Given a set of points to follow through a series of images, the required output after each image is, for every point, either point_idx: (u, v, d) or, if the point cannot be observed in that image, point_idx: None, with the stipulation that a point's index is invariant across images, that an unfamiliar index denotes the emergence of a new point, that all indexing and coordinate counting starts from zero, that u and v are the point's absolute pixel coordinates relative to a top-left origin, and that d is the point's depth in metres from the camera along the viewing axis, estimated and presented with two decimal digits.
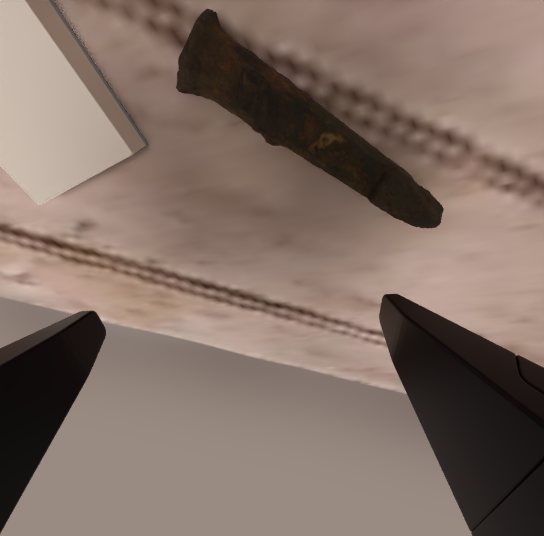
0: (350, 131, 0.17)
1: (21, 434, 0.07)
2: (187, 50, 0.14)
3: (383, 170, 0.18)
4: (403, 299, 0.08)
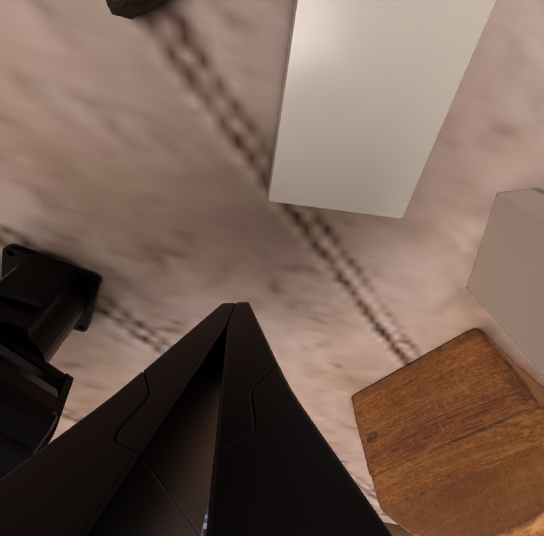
0: None
1: (211, 426, 0.07)
2: None
3: None
4: (245, 307, 0.09)
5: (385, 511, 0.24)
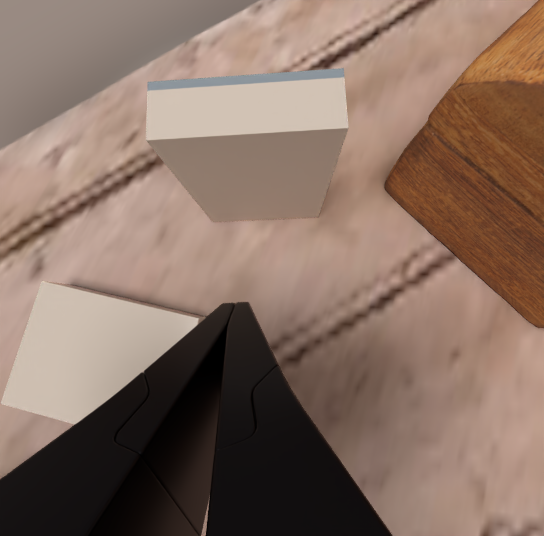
0: None
1: (211, 427, 0.07)
2: None
3: None
4: (245, 307, 0.09)
5: None
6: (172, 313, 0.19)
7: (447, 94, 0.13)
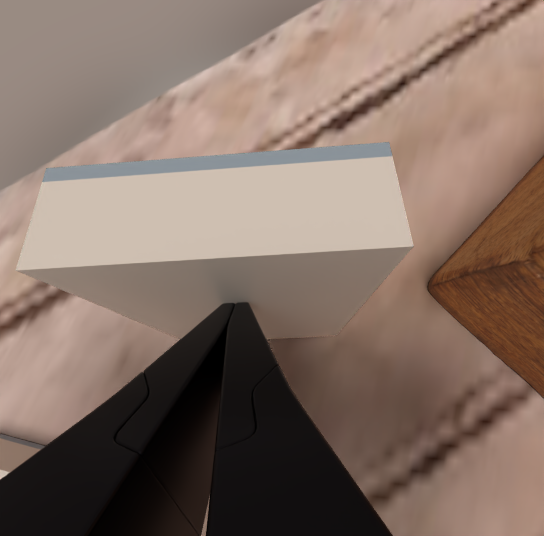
0: None
1: (210, 427, 0.07)
2: None
3: None
4: (245, 308, 0.09)
5: None
6: None
7: None
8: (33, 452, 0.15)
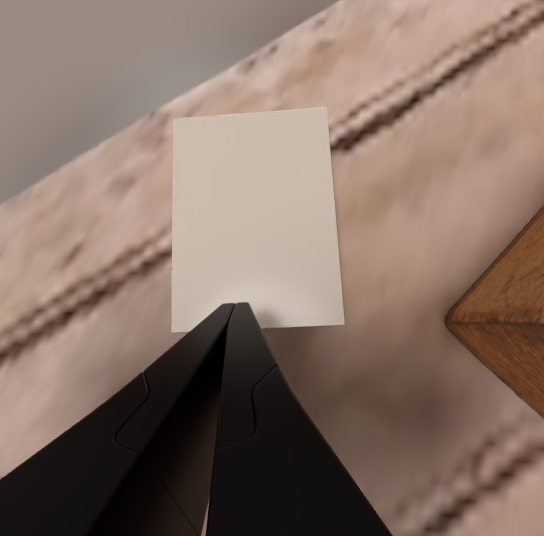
0: None
1: (211, 426, 0.07)
2: None
3: None
4: (245, 307, 0.09)
5: None
6: None
7: None
8: None
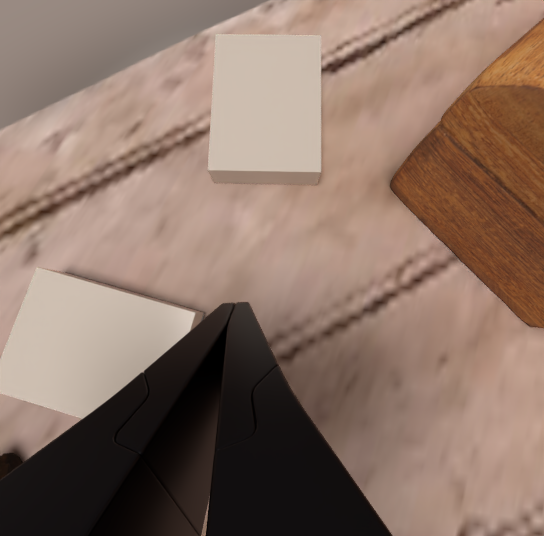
0: None
1: (211, 427, 0.07)
2: None
3: None
4: (245, 307, 0.09)
5: None
6: (169, 306, 0.19)
7: (462, 96, 0.14)
8: (95, 281, 0.21)
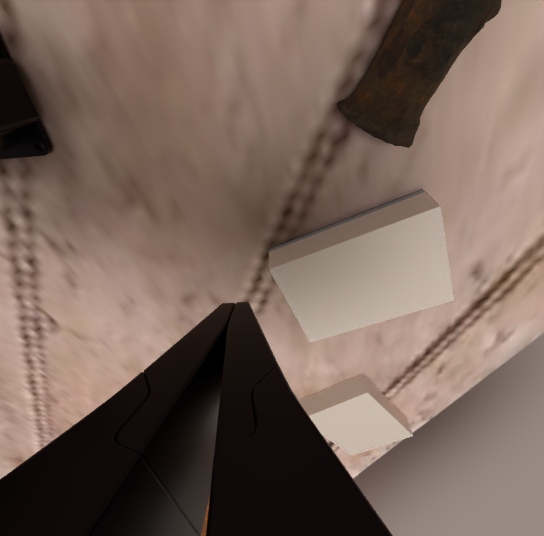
0: None
1: (211, 427, 0.07)
2: (382, 132, 0.14)
3: None
4: (245, 307, 0.09)
5: None
6: (330, 336, 0.24)
7: None
8: None
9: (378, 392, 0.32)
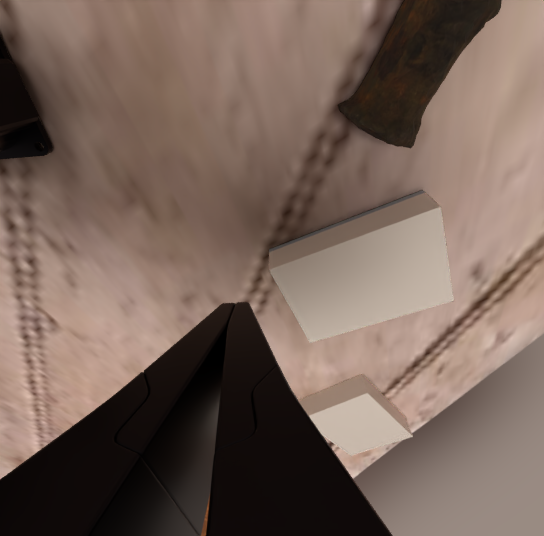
0: None
1: (211, 427, 0.07)
2: (384, 133, 0.14)
3: None
4: (245, 308, 0.09)
5: None
6: (330, 336, 0.24)
7: None
8: None
9: (378, 392, 0.32)
